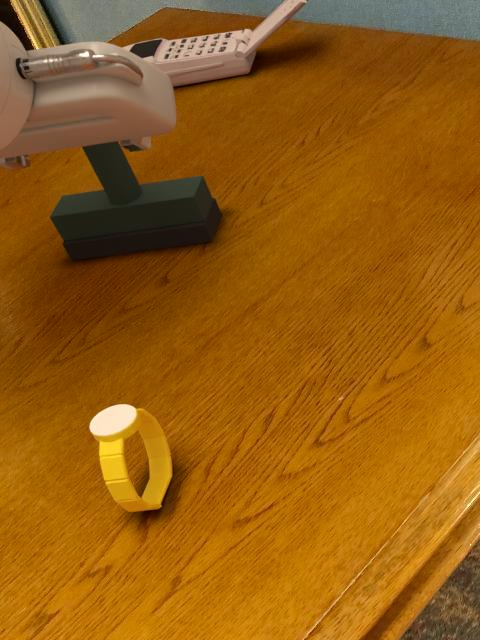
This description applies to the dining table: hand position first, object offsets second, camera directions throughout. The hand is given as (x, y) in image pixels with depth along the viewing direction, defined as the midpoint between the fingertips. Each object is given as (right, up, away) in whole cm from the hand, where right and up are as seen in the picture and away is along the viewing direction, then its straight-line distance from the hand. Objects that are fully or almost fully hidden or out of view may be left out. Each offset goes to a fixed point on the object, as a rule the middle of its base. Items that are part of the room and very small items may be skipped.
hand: (80, 149), depth 73 cm
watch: (+10, -26, -12) cm, 30 cm away
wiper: (+1, -4, +9) cm, 10 cm away
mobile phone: (0, +19, +29) cm, 35 cm away
